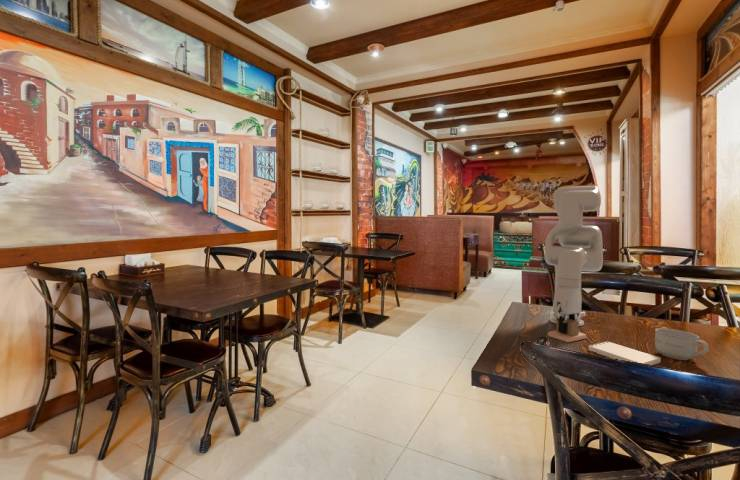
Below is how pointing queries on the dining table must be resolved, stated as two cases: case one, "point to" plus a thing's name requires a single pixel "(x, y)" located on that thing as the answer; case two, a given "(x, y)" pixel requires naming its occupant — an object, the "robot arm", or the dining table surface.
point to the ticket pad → (623, 353)
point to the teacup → (678, 344)
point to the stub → (568, 332)
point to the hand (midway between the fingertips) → (567, 331)
